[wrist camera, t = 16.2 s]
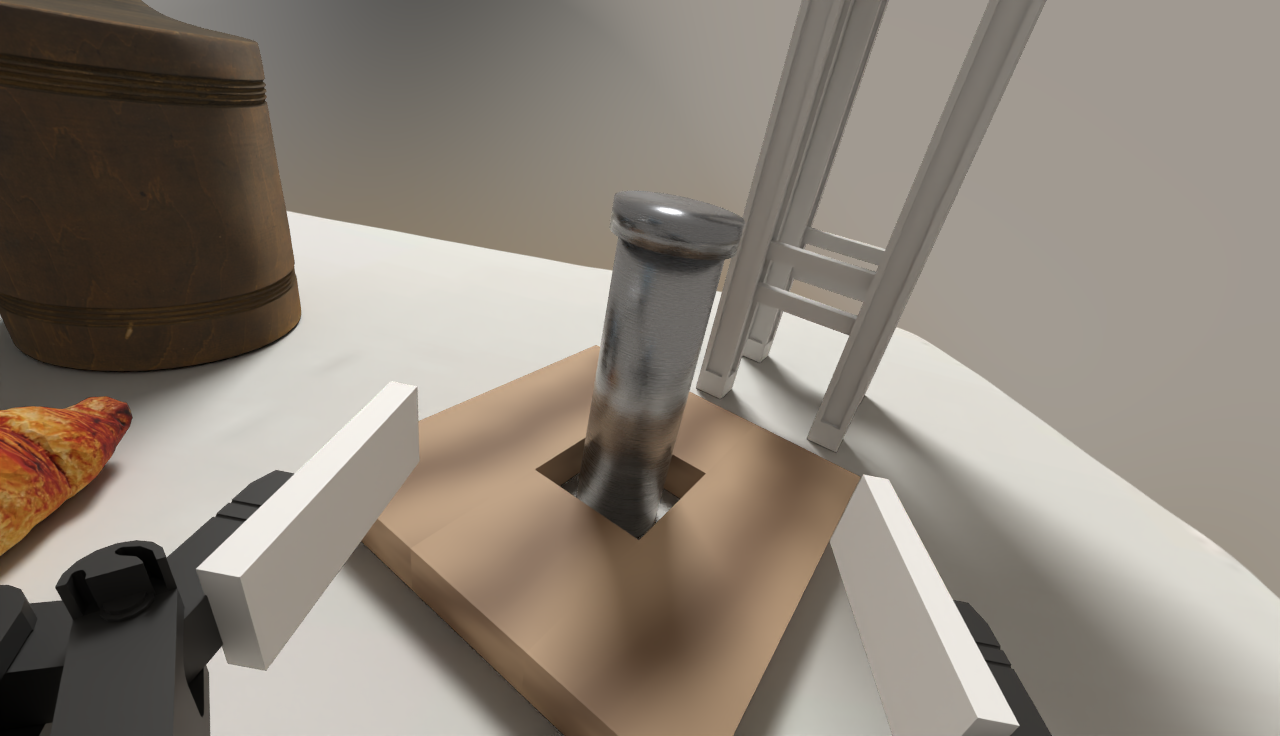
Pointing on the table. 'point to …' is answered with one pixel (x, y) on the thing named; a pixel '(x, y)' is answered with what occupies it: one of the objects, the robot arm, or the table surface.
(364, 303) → the table surface
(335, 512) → the robot arm
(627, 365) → the link pin
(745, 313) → the stool
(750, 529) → the keeper block
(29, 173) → the wooden container
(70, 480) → the croissant
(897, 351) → the table surface
